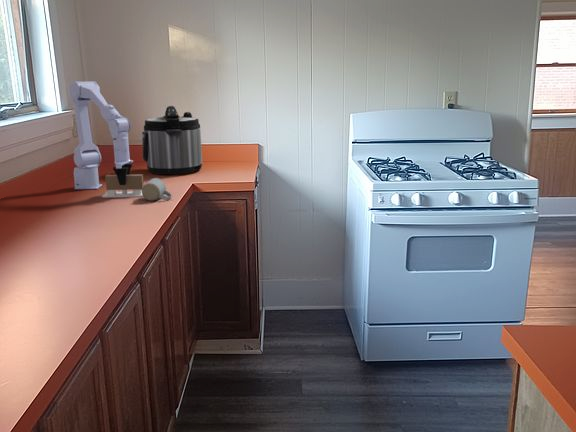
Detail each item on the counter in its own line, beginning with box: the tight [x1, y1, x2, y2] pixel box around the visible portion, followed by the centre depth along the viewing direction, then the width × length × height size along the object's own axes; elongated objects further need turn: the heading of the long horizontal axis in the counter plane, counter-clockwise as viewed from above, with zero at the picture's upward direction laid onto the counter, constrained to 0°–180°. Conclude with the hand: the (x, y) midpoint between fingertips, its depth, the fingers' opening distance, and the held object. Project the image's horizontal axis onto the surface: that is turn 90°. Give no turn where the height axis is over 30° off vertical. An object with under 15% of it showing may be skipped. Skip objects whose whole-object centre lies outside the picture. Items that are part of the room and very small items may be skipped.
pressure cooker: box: [141, 105, 203, 176], centre depth 266 cm, size 30×28×32 cm
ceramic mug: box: [142, 177, 173, 202], centre depth 209 cm, size 11×8×8 cm
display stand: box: [101, 189, 144, 199], centre depth 217 cm, size 16×8×2 cm, turn 94°
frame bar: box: [104, 173, 145, 191], centre depth 216 cm, size 14×3×6 cm, turn 94°
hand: (124, 183), depth 216 cm, fingers open, 5 cm apart
